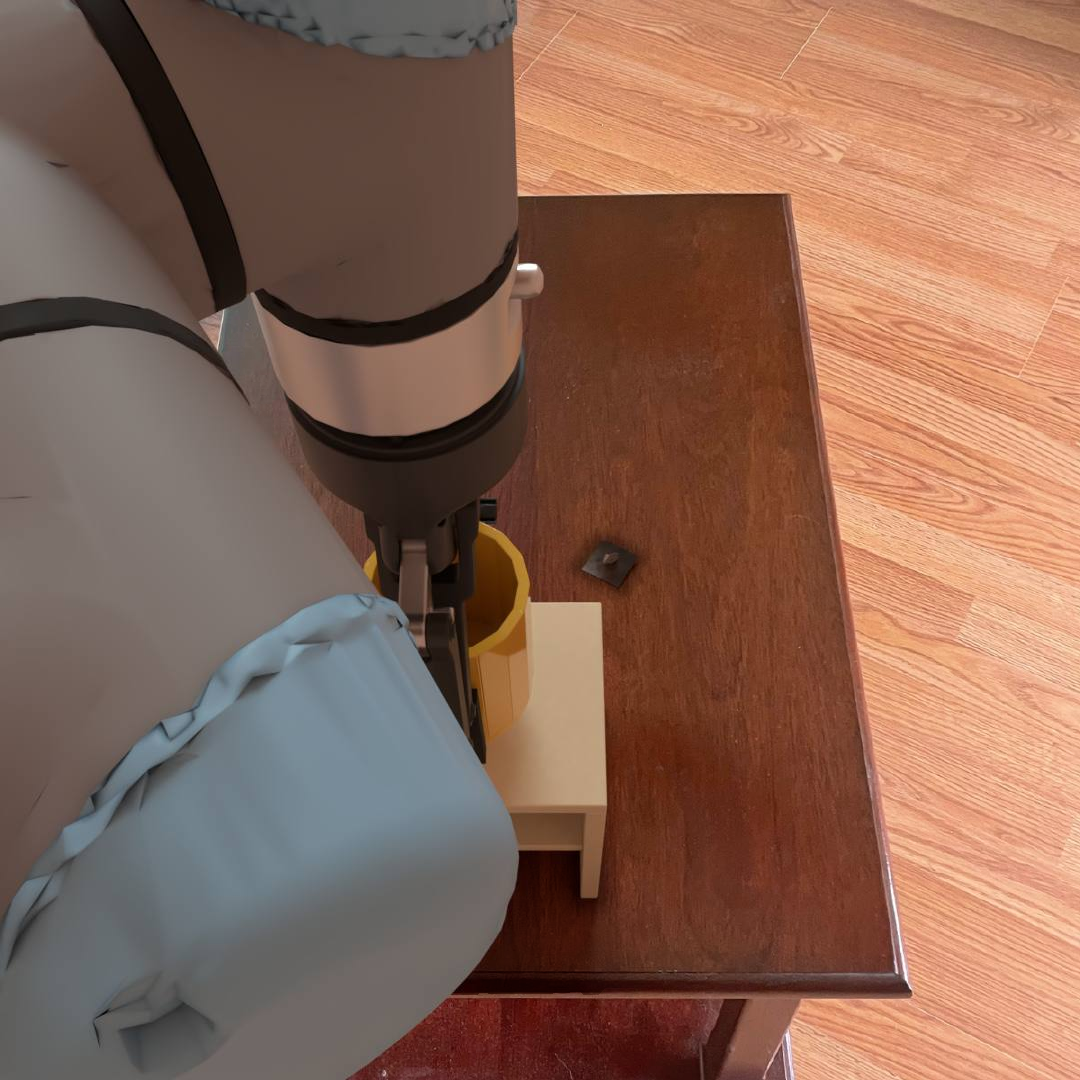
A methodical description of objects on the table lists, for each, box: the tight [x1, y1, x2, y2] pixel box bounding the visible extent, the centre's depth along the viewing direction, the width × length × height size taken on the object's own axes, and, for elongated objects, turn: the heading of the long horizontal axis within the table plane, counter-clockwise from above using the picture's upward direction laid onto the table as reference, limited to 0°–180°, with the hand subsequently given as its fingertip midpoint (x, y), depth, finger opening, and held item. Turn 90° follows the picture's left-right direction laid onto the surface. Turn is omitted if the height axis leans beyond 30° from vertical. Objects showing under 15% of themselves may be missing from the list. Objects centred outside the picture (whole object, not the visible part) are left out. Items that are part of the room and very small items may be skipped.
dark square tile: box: [581, 539, 639, 589], centre depth 77 cm, size 3×3×1 cm
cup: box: [362, 521, 534, 743], centre depth 49 cm, size 7×7×9 cm
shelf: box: [482, 601, 608, 899], centre depth 61 cm, size 14×11×16 cm
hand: (460, 678), depth 53 cm, fingers closed on cup, 7 cm apart
